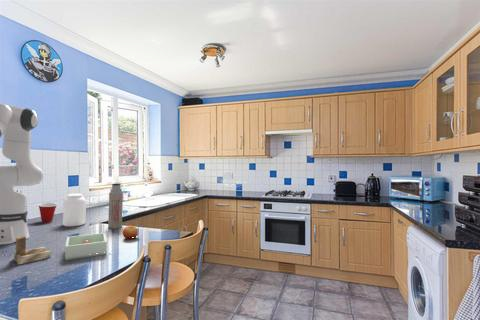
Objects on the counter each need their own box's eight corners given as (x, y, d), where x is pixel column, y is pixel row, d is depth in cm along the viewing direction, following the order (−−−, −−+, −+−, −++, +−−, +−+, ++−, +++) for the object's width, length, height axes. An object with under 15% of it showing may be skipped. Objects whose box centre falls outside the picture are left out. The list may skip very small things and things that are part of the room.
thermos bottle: (120, 228, 165) (121, 184, 166) (107, 228, 163) (108, 184, 163) (122, 225, 173) (123, 183, 173) (109, 225, 171) (110, 183, 171)
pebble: (90, 247, 128) (85, 247, 129) (92, 241, 129) (87, 240, 130) (84, 246, 125) (79, 245, 126) (87, 239, 126) (82, 239, 128)
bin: (64, 260, 112) (65, 246, 112) (67, 249, 126) (67, 236, 126) (106, 254, 120) (106, 241, 120) (104, 244, 134) (104, 232, 134)
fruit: (131, 232, 152) (135, 221, 149) (137, 242, 147) (141, 231, 145) (117, 235, 146) (121, 224, 143) (123, 245, 141) (127, 234, 139)
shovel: (18, 264, 107) (18, 240, 107) (13, 259, 112) (14, 235, 112) (50, 257, 115) (51, 234, 115) (44, 252, 121) (45, 231, 121)
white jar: (89, 222, 178) (90, 193, 178) (76, 227, 165) (77, 195, 165) (72, 221, 179) (73, 192, 179) (58, 226, 166) (58, 195, 166)
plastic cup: (49, 223, 172) (49, 205, 172) (33, 223, 172) (33, 205, 172) (60, 219, 183) (61, 202, 183) (45, 219, 183) (46, 202, 183)
